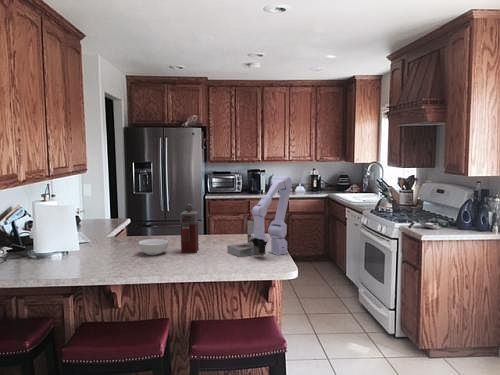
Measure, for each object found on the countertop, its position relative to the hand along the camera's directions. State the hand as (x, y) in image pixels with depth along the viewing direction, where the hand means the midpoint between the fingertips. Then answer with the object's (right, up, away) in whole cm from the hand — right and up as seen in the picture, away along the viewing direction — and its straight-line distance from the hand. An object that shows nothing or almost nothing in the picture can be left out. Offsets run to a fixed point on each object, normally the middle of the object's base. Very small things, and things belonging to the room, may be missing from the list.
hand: (259, 252), depth 234 cm
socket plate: (-9, -2, +11) cm, 14 cm away
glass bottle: (-41, -2, +16) cm, 44 cm away
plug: (0, -2, 0) cm, 2 cm away
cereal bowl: (-61, -3, +13) cm, 62 cm away
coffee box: (-2, -1, +31) cm, 31 cm away
